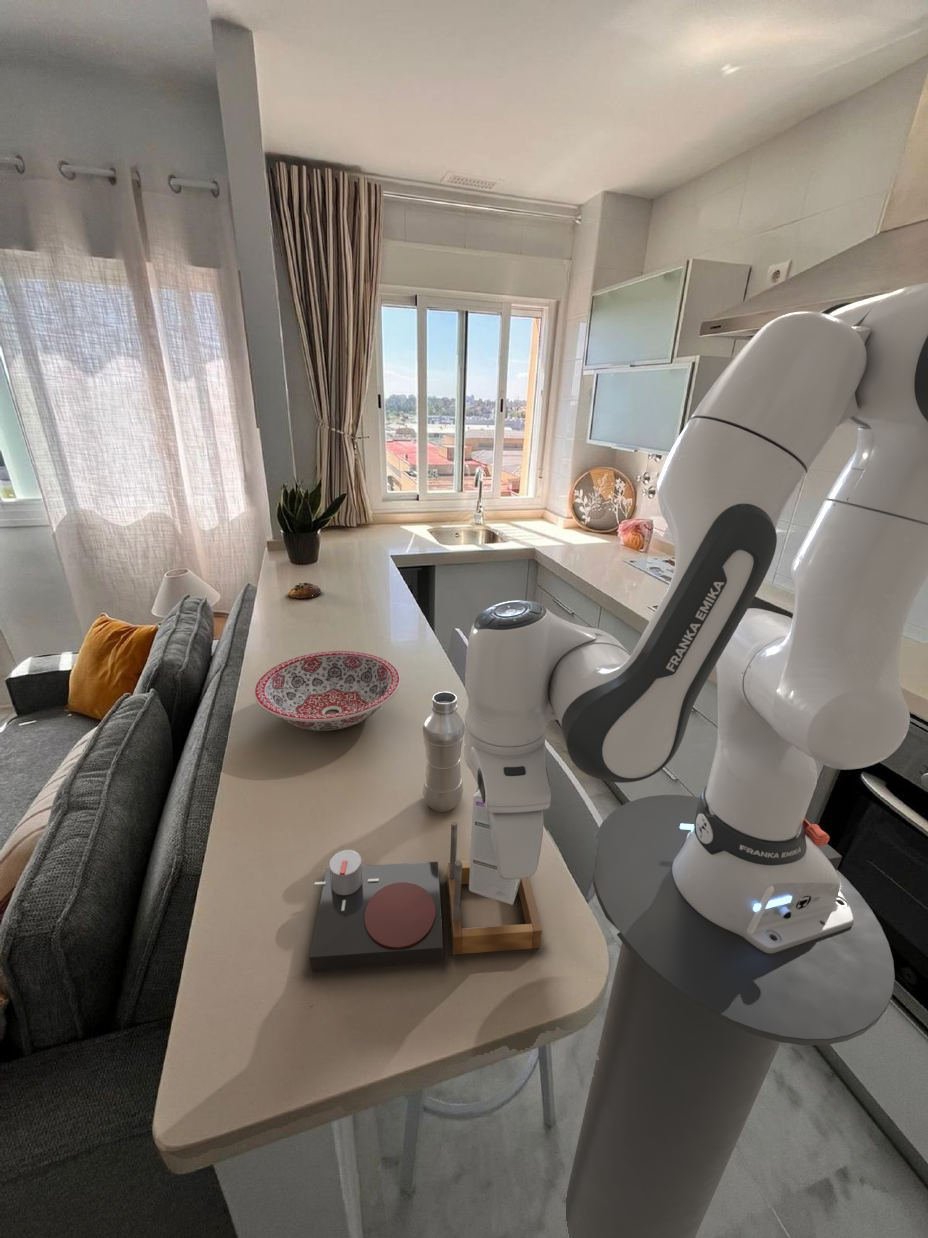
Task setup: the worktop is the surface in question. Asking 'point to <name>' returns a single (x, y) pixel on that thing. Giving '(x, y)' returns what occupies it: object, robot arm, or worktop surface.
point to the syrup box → (486, 859)
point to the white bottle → (443, 753)
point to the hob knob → (345, 872)
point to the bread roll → (304, 591)
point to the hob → (344, 926)
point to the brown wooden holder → (488, 936)
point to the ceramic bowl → (327, 689)
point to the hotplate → (399, 915)
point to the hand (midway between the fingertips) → (499, 840)
